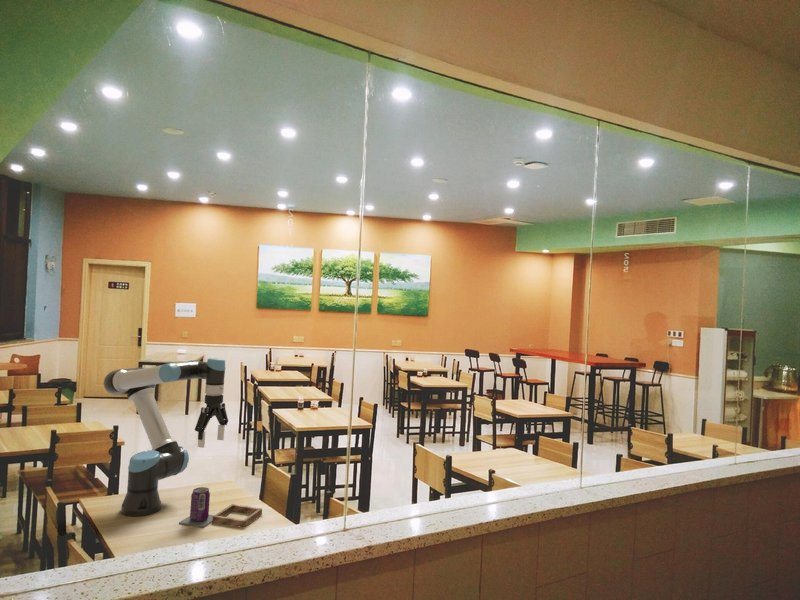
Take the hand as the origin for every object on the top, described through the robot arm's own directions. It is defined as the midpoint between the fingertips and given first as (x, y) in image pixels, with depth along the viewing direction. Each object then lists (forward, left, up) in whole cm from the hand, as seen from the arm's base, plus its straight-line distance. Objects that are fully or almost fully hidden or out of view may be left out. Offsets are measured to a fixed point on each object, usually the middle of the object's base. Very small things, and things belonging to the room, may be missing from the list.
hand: (211, 443), depth 221 cm
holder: (+17, -3, -29) cm, 33 cm away
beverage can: (+4, -11, -28) cm, 30 cm away
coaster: (+4, -11, -29) cm, 31 cm away
